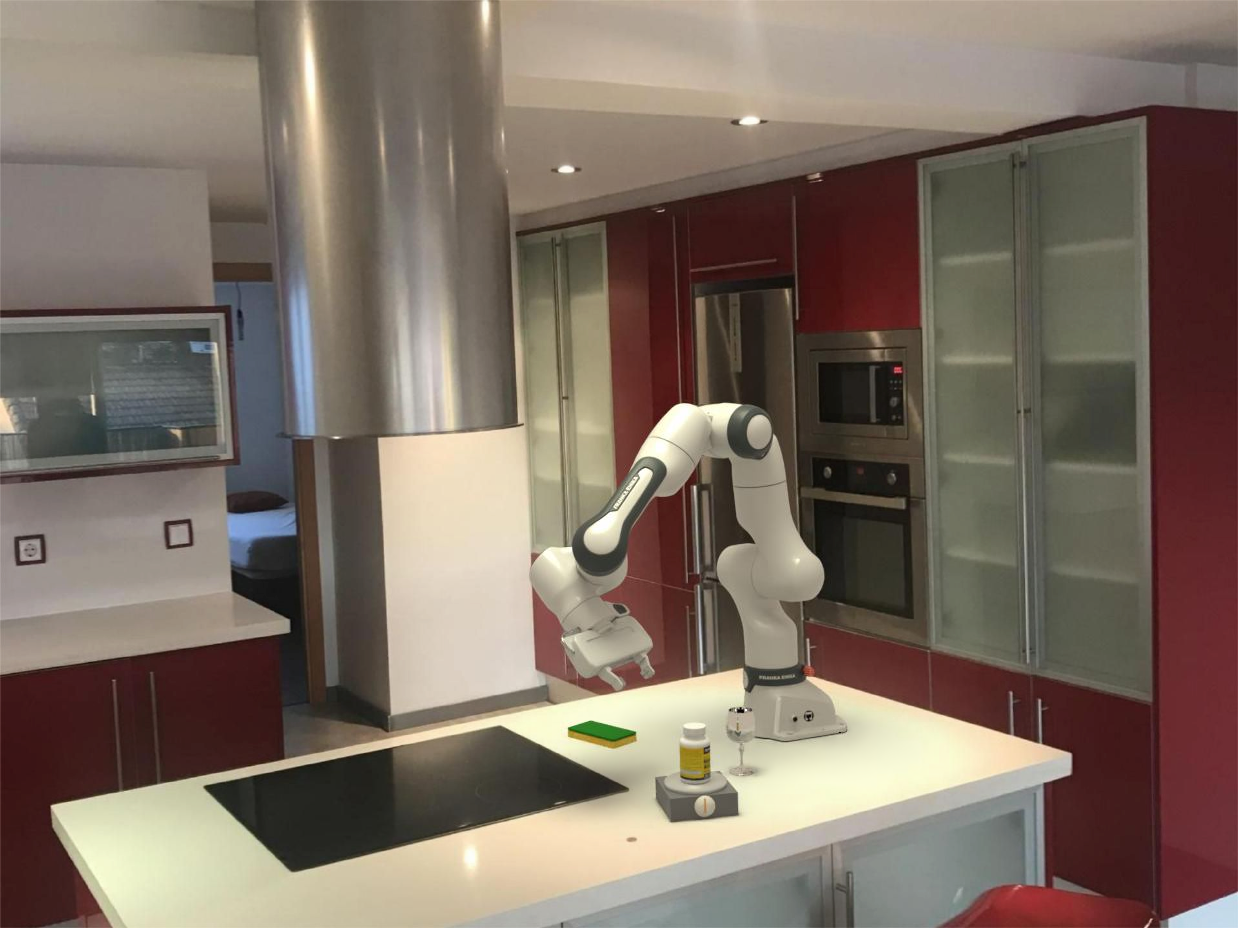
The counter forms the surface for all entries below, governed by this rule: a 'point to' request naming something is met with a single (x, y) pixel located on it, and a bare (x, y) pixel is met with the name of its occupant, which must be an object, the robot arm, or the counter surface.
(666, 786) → the kitchen scale
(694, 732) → the supplement bottle
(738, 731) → the wineglass
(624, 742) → the dish sponge
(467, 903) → the counter surface
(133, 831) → the counter surface
